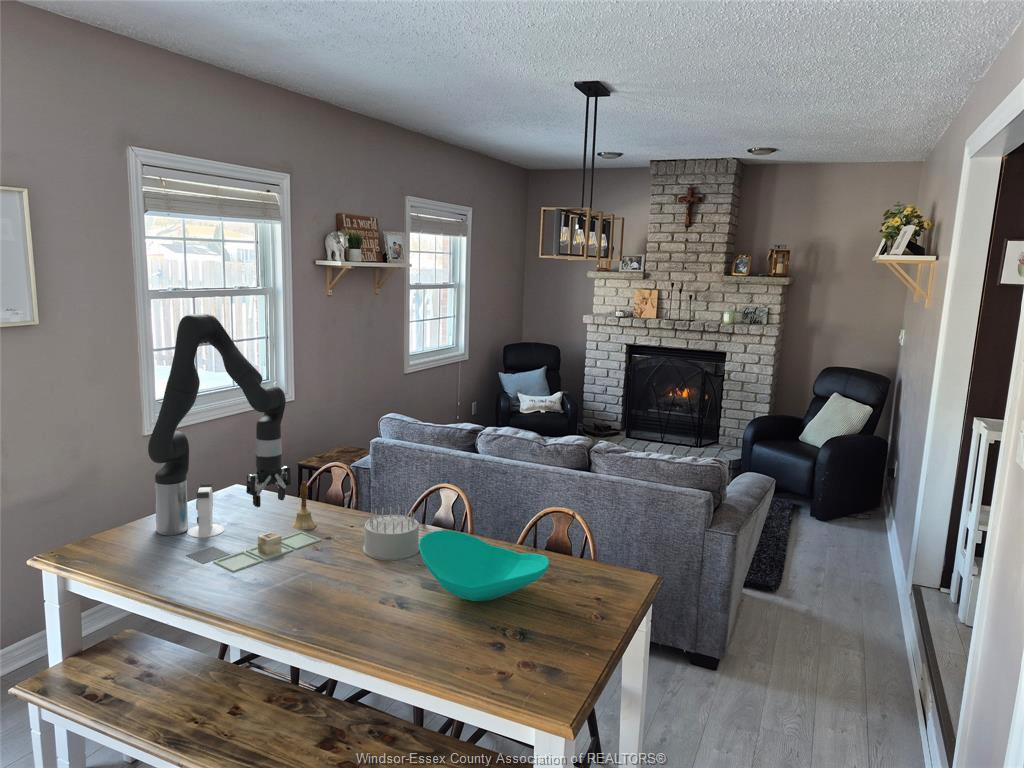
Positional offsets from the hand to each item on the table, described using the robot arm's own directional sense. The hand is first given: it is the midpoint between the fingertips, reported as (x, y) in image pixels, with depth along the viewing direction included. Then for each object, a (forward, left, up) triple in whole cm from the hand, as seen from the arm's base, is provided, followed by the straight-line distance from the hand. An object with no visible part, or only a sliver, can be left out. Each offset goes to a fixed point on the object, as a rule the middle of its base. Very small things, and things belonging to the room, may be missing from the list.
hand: (269, 503), depth 218 cm
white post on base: (-30, -3, -16) cm, 34 cm away
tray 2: (0, 0, -16) cm, 16 cm away
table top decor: (+67, +21, -16) cm, 72 cm away
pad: (-11, -14, -16) cm, 24 cm away
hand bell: (-10, +21, -16) cm, 28 cm away
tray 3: (0, +11, -16) cm, 19 cm away
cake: (+26, +27, -16) cm, 41 cm away
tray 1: (0, -11, -16) cm, 19 cm away
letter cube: (0, 0, -16) cm, 16 cm away
